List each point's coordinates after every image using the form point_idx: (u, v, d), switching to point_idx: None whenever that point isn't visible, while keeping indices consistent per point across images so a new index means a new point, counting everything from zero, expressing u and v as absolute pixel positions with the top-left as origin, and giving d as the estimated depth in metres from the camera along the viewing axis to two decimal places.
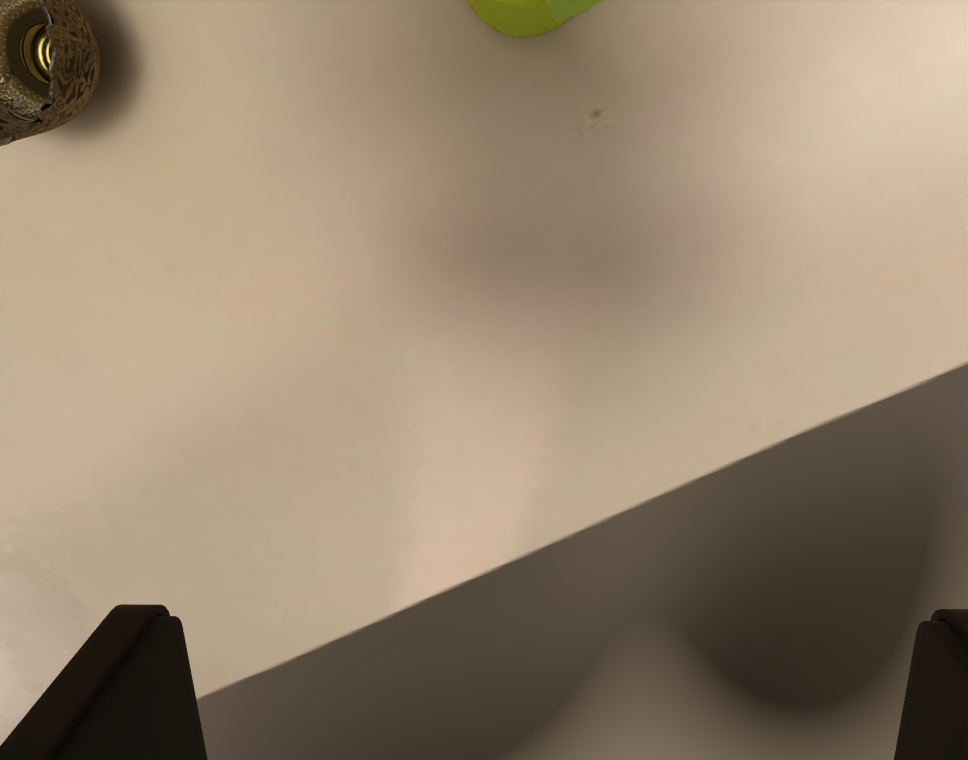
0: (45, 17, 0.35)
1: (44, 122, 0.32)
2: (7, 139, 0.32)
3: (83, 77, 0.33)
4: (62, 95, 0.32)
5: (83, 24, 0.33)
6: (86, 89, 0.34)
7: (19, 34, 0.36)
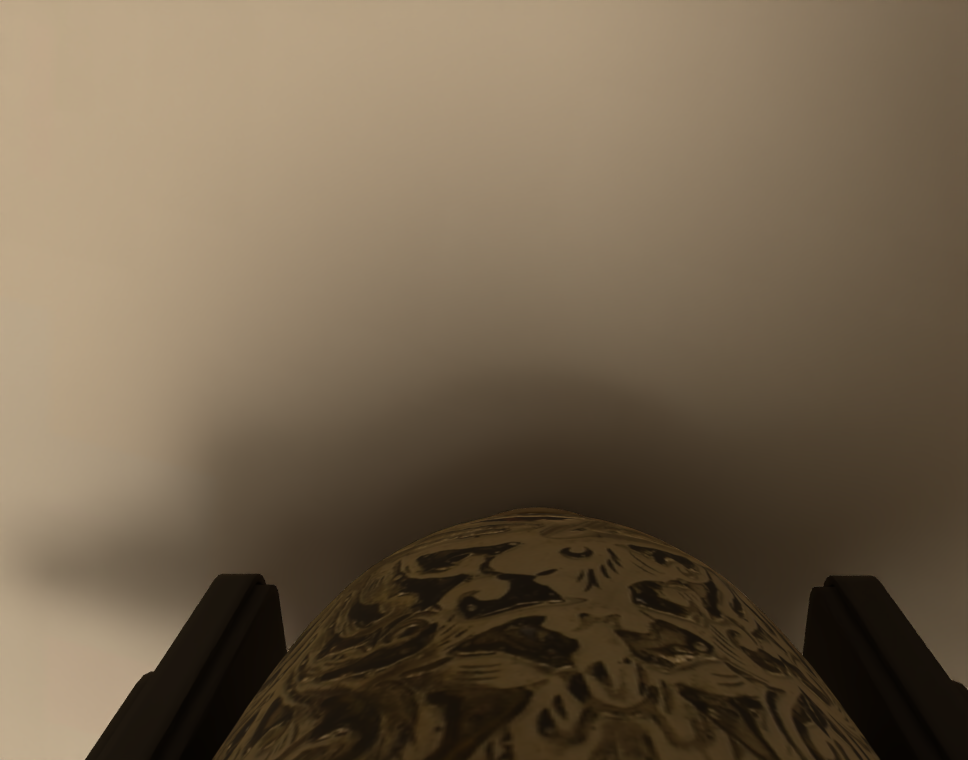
0: None
1: None
2: None
3: None
4: None
5: None
6: None
7: None
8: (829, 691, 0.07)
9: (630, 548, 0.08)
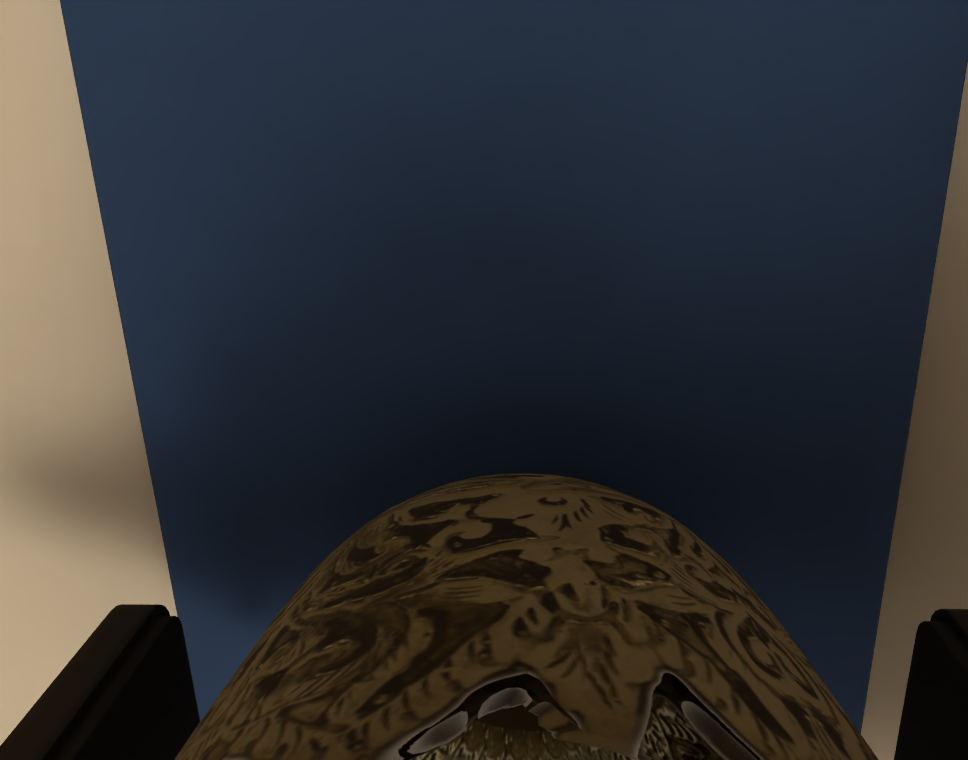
0: None
1: None
2: None
3: None
4: None
5: None
6: None
7: None
8: (779, 623, 0.08)
9: (602, 499, 0.09)
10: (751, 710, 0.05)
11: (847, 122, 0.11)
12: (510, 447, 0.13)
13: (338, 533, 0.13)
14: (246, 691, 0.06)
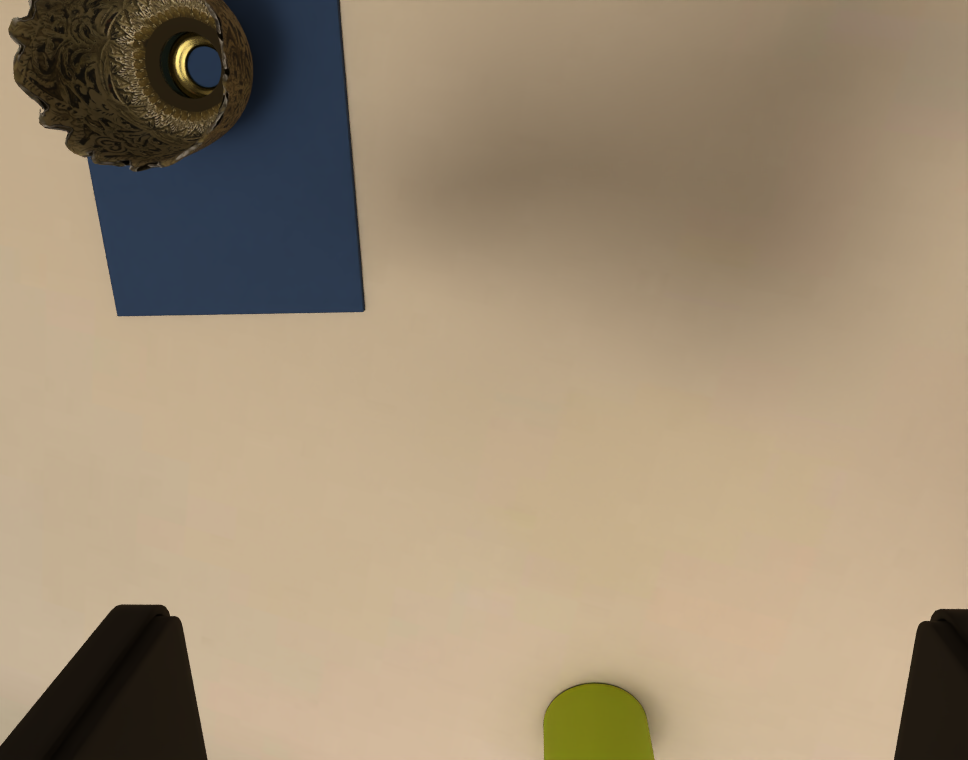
0: (218, 44, 0.32)
1: (129, 164, 0.29)
2: (83, 151, 0.28)
3: None
4: None
5: (242, 110, 0.31)
6: None
7: (183, 28, 0.32)
8: None
9: None
10: None
11: None
12: None
13: None
14: None
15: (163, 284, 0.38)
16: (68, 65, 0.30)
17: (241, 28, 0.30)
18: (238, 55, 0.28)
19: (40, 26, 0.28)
